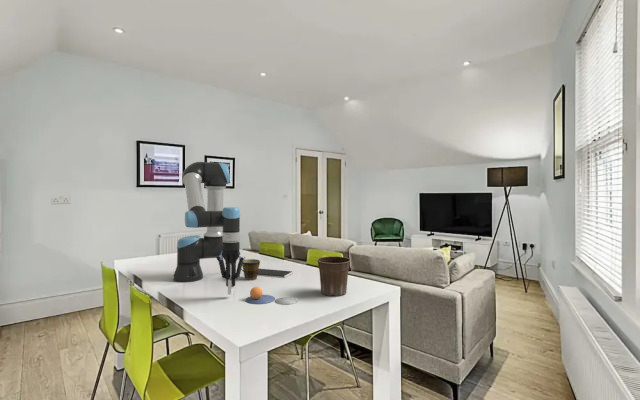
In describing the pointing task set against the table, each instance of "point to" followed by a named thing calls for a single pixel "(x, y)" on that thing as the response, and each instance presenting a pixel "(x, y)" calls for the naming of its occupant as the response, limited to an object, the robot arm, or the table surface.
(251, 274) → the ceramic cup
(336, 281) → the plant pot
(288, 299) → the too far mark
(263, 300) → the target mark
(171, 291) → the table surface
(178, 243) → the robot arm
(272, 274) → the dark grey flat slab
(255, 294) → the ball
